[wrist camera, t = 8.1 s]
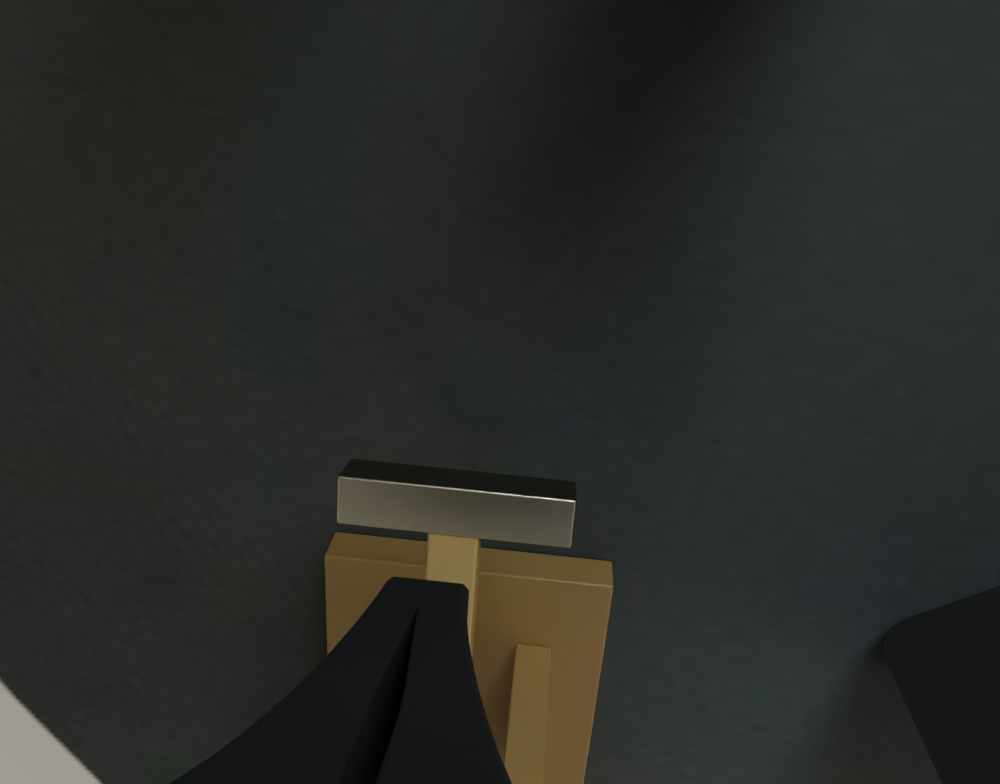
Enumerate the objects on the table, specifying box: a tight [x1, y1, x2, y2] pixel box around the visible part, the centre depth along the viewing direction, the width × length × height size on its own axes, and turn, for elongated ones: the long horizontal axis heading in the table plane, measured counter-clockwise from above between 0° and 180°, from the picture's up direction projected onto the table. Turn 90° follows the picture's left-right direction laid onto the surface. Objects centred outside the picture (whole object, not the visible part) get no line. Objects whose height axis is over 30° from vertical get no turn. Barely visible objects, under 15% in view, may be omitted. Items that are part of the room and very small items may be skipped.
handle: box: [337, 459, 577, 655], centre depth 19 cm, size 11×5×2 cm, turn 175°
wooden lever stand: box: [325, 532, 614, 784], centre depth 22 cm, size 9×8×8 cm
